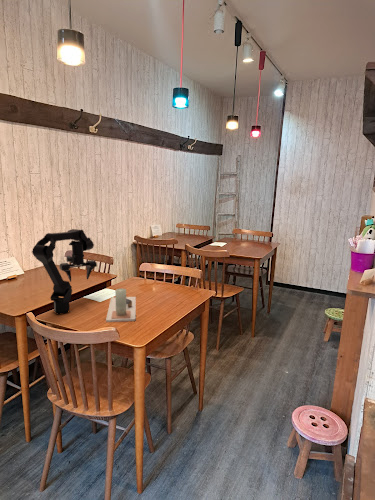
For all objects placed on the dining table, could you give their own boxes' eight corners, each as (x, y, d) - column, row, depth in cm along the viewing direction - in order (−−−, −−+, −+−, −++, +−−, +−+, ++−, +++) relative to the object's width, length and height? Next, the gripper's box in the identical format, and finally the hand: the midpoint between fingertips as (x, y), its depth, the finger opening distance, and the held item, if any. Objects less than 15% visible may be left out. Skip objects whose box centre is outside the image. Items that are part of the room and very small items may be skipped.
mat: (130, 318, 167) (130, 317, 167) (111, 318, 165) (111, 317, 165) (130, 311, 175) (130, 310, 175) (112, 312, 174) (112, 311, 174)
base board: (135, 320, 166) (135, 318, 166) (105, 322, 164) (105, 320, 164) (135, 298, 199) (135, 296, 199) (111, 299, 197) (111, 297, 197)
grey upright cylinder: (114, 315, 168) (114, 291, 166) (117, 311, 173) (117, 288, 171) (124, 316, 168) (124, 291, 165) (127, 312, 173) (127, 288, 170)
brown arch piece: (120, 311, 175) (120, 304, 175) (112, 305, 184) (112, 298, 183) (134, 308, 180) (134, 301, 179) (126, 302, 189) (125, 296, 188)
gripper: (89, 248, 196) (90, 274, 199) (56, 251, 185) (57, 279, 188) (96, 251, 187) (97, 279, 190) (61, 255, 176) (63, 284, 179)
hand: (79, 280), depth 187 cm, fingers open, 9 cm apart
